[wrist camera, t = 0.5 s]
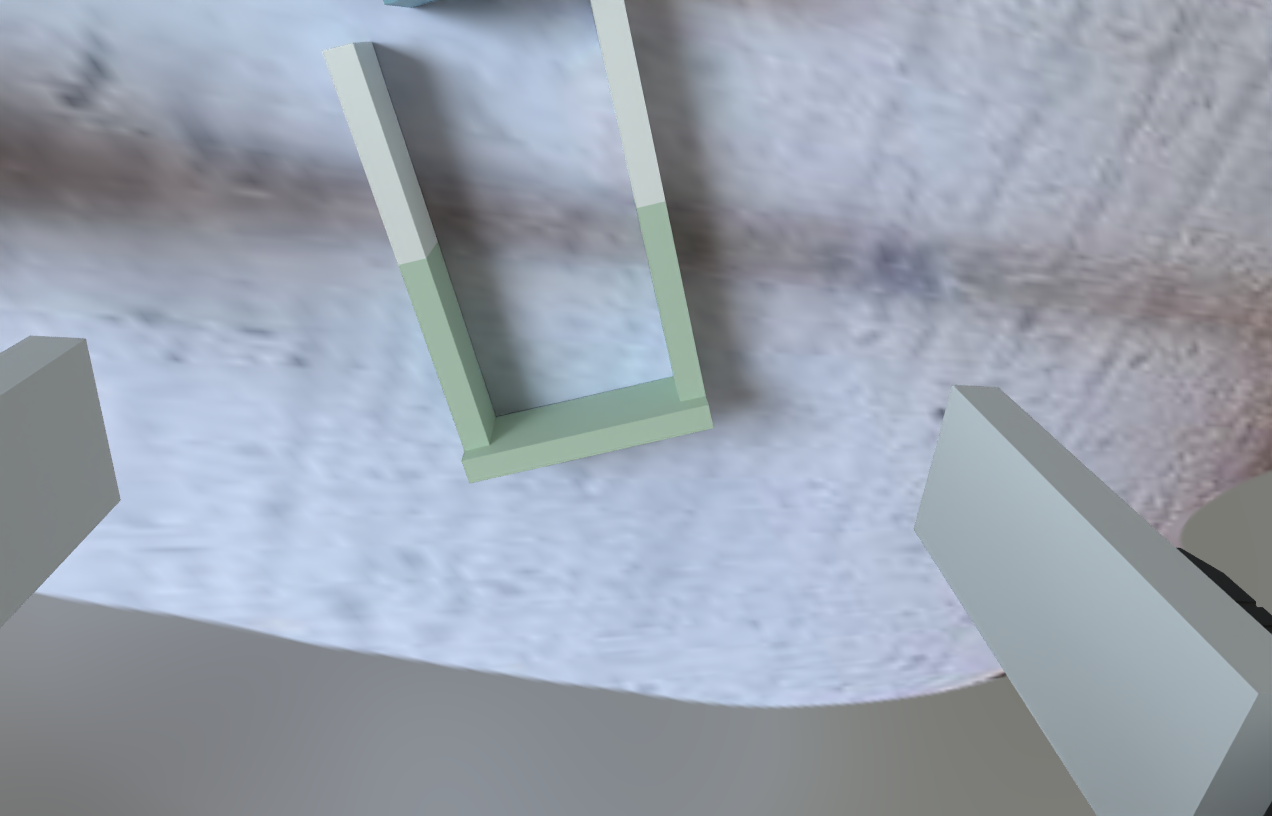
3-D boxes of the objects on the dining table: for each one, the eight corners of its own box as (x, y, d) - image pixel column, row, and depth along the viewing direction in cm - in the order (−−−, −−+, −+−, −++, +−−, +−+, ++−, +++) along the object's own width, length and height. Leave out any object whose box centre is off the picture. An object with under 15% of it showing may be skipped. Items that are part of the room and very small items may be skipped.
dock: (343, 48, 34) (314, 51, 30) (616, -20, 33) (620, -26, 30) (479, 443, 41) (469, 483, 38) (702, 392, 41) (713, 428, 37)
